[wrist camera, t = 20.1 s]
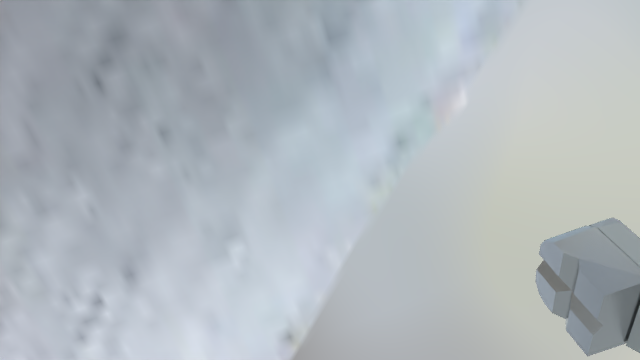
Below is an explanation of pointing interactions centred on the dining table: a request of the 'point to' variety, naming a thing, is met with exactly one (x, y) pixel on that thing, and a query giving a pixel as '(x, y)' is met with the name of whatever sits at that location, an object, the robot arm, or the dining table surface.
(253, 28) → the dining table surface
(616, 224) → the robot arm
